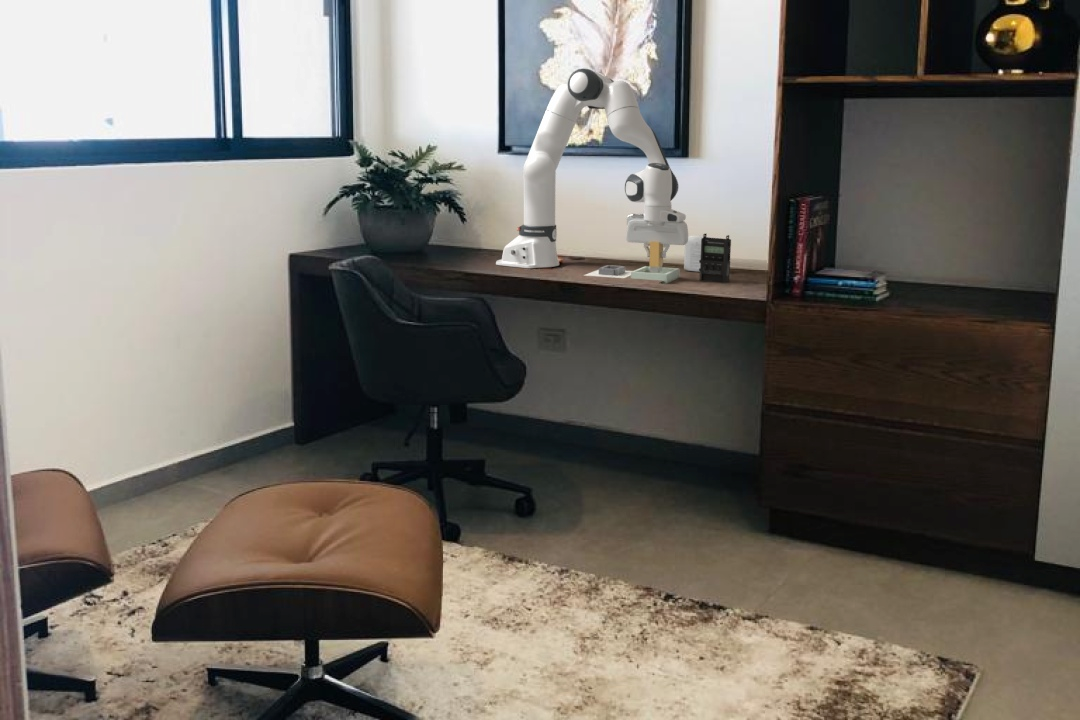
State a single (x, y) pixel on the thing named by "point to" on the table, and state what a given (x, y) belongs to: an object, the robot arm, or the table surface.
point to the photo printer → (693, 253)
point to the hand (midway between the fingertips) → (656, 257)
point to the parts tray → (656, 274)
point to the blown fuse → (655, 257)
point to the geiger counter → (715, 259)
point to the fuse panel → (611, 272)
